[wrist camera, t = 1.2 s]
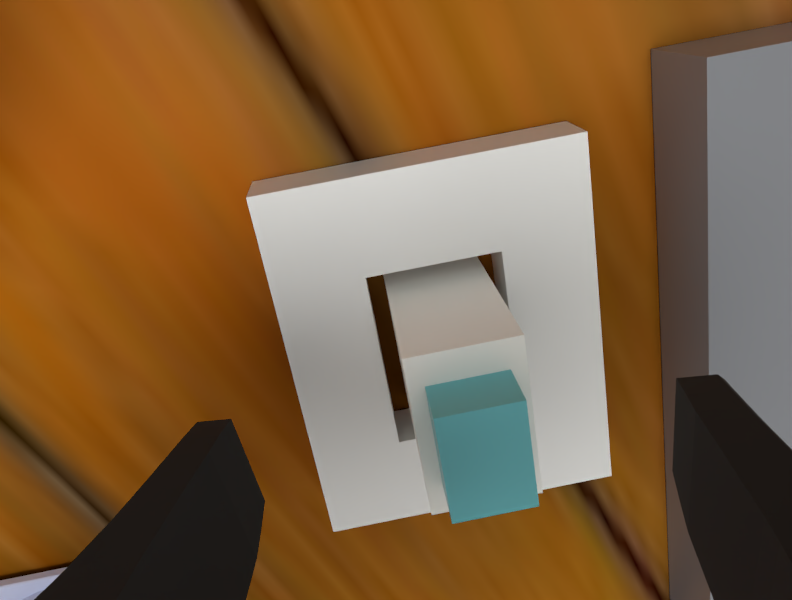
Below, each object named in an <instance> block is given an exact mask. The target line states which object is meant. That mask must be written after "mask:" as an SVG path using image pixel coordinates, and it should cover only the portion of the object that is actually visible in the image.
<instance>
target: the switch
mask: <svg viewBox="0 0 792 600" xmlns="http://www.w3.org/2000/svg"><path fill="white" fill-rule="evenodd" d="M651 70H652V99H653V128H654V156H655V185H656V214H657V242H658V271H659V300H660V328H661V357H662V386H663V414H664V443H665V472H666V500H667V529H668V558H669V586H670V600H714V599H713V597H712V594H711V591H710V589H709V586H708V584H707V581H706V579H705V576H704V573H703V571H702V568H701V565H700V563H699V560H698V557H697V555H696V552H695V550H694V547H693V544H692V542H691V539H690V536H689V534H688V530H687V527H686V523H685V519H684V515H683V511H682V508H681V504H680V500H679V496H678V492H677V488H676V484H675V480H674V476H673V472H672V466H673V442H674V418H675V394H676V378H683V377H693V376H704V375H715V374H718V375H720V376H721V377H722V378H724V379H725V380H726V381H727V382H728V384H729V385H730V386H731V387H732V388H733V389H734V390H735V391H736V392H737V393H738V394H739V395H740V397H741V398H742V399H743V400H744V401H745V402H746V403H747V404H748V405H749V406H750V407H751V408H752V409H753V410H754V411H755V413H756V414H757V415H758V416H759V417H760V418H761V419H762V420H763V421H764V422H765V423H766V424H767V425H768V426H769V427H770V428H771V429H772V430H773V431H774V432H775V433H776V434H777V435H778V436H779V437H780V438H781V439H782V440H783V441H784V442H785V443H786V444H787V445H788V446H789V447H790V448H791V449H792V22H790V23H784V24H779V25H774V26H769V27H764V28H758V29H753V30H748V31H743V32H738V33H732V34H727V35H722V36H717V37H712V38H706V39H701V40H696V41H691V42H685V43H680V44H675V45H670V46H665V47H659V48H654V49H651Z"/></svg>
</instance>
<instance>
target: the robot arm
mask: <svg viewBox="0 0 792 600" xmlns="http://www.w3.org/2000/svg"><path fill="white" fill-rule="evenodd" d="M672 472H673V476H674V480H675V484H676V488H677V492H678V496H679V500H680V504H681V508H682V511H683V515H684V519H685V523H686V527H687V530H688V534H689V536H690V539H691V542H692V544H693V547H694V550H695V552H696V555H697V557H698V560H699V563H700V565H701V568H702V571H703V573H704V576H705V579H706V581H707V584H708V586H709V589H710V591H711V594H712V597H713V599H714V600H792V449H791V448H790V447H789V446H788V445H787V444H786V443H785V442H784V441H783V440H782V439H781V438H780V437H779V436H778V435H777V434H776V433H775V432H774V431H773V430H772V429H771V428H770V427H769V426H768V425H767V424H766V423H765V422H764V421H763V420H762V419H761V418H760V417H759V416H758V415H757V414H756V413H755V411H754V410H753V409H752V408H751V407H750V406H749V405H748V404H747V403H746V402H745V401H744V400H743V399H742V398H741V397H740V395H739V394H738V393H737V392H736V391H735V390H734V389H733V388H732V387H731V386H730V385H729V384H728V382H727V381H726V380H725V379H724V378H722V377H721V376H720V375H718V374H715V375H704V376H693V377H683V378H676V394H675V418H674V442H673V466H672ZM264 503H265V500H264V498H263V495H262V493H261V490H260V488H259V485H258V483H257V481H256V478H255V476H254V473H253V471H252V469H251V466H250V464H249V461H248V459H247V456H246V454H245V452H244V449H243V447H242V444H241V442H240V440H239V437H238V435H237V432H236V430H235V427H234V425H233V423H232V420H231V419H226V420H215V421H204V422H197V423H196V424H195V425H194V426H193V427H192V428H191V429H190V431H189V432H188V433H187V434H186V435H185V436H184V437H183V439H182V440H181V441H180V442H179V443H178V444H177V446H176V447H175V448H174V449H173V450H172V451H171V453H170V454H169V455H168V456H167V457H166V458H165V460H164V461H163V462H162V463H161V464H160V465H159V467H158V468H157V469H156V470H155V471H154V473H153V474H152V475H151V476H150V477H149V478H148V480H147V481H146V482H145V483H144V484H143V485H142V486H141V488H140V489H139V490H138V491H137V492H136V493H135V494H134V496H133V497H132V498H131V499H130V500H129V501H128V502H127V504H126V505H125V506H124V507H123V508H122V509H121V510H120V512H119V513H118V514H117V515H116V516H115V517H114V518H113V519H112V521H111V522H110V523H109V524H108V525H107V526H106V527H105V528H104V529H103V530H102V531H101V532H100V533H99V534H98V535H97V536H96V537H95V539H94V540H93V541H92V542H91V543H90V544H89V545H88V546H87V547H86V548H85V549H84V550H83V551H82V552H81V553H80V554H79V555H78V556H77V557H76V559H75V560H74V561H73V562H72V563H71V564H70V565H69V566H68V567H65V568H60V569H55V570H50V571H45V572H40V573H35V574H30V575H25V576H20V577H15V578H10V579H5V580H0V600H246V597H247V593H248V589H249V586H250V582H251V578H252V574H253V571H254V567H255V563H256V559H257V553H258V547H259V540H260V534H261V527H262V519H263V511H264Z"/></svg>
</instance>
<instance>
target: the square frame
mask: <svg viewBox="0 0 792 600" xmlns="http://www.w3.org/2000/svg"><path fill="white" fill-rule="evenodd" d="M246 200H247V203H248V207H249V211H250V215H251V219H252V222H253V226H254V230H255V234H256V238H257V242H258V245H259V249H260V253H261V257H262V261H263V264H264V268H265V272H266V276H267V280H268V284H269V287H270V291H271V295H272V299H273V303H274V306H275V310H276V314H277V318H278V322H279V326H280V329H281V333H282V337H283V341H284V345H285V349H286V352H287V356H288V360H289V364H290V368H291V371H292V375H293V379H294V383H295V387H296V391H297V394H298V398H299V402H300V406H301V410H302V413H303V417H304V421H305V425H306V429H307V433H308V436H309V440H310V444H311V448H312V452H313V455H314V459H315V463H316V467H317V471H318V475H319V478H320V482H321V486H322V490H323V494H324V497H325V501H326V505H327V509H328V513H329V517H330V520H331V524H332V528H333V532H336V531H341V530H346V529H351V528H356V527H361V526H366V525H370V524H375V523H380V522H385V521H390V520H395V519H400V518H405V517H410V516H415V515H420V514H425V513H430V512H431V509H430V505H429V500H428V495H427V490H426V486H425V481H424V476H423V471H422V466H421V462H420V457H419V452H418V447H417V443H416V438H415V433H414V428H413V423H412V419H411V414H410V409H409V408H408V409H403V410H398V411H394V409H393V404H392V399H391V394H390V389H389V384H388V379H387V375H386V370H385V365H384V360H383V355H382V350H381V345H380V340H379V335H378V330H377V326H376V321H375V316H374V311H373V306H372V301H371V296H370V291H369V286H368V281H367V278H368V277H373V276H378V275H383V274H388V273H394V272H399V271H404V270H409V269H414V268H419V267H424V266H429V265H434V264H439V263H445V262H450V261H455V260H460V259H465V258H470V257H475V256H480V255H485V254H490V253H491V257H492V265H493V272H494V280H495V287H496V289H497V290H498V292H499V294H500V295H501V297H502V299H503V300H504V302H505V304H506V305H507V307H508V309H509V310H510V312H511V314H512V315H513V317H514V319H515V320H516V322H517V324H518V325H519V327H520V329H521V330H522V332H523V334H524V337H525V345H526V354H527V362H528V371H529V380H530V388H531V397H532V405H533V414H534V422H535V431H536V440H537V448H538V457H539V465H540V474H541V482H542V490H544V489H549V488H554V487H559V486H564V485H569V484H573V483H578V482H583V481H588V480H593V479H598V478H603V477H608V476H612V474H611V460H610V445H609V431H608V417H607V403H606V388H605V374H604V360H603V346H602V331H601V317H600V303H599V289H598V274H597V260H596V246H595V232H594V217H593V203H592V189H591V175H590V160H589V146H588V132H587V131H585V130H583V129H581V128H579V127H577V126H575V125H573V124H571V123H569V122H567V121H564V122H558V123H553V124H548V125H543V126H538V127H533V128H527V129H522V130H517V131H512V132H507V133H502V134H496V135H491V136H486V137H481V138H476V139H471V140H465V141H460V142H455V143H450V144H445V145H440V146H434V147H429V148H424V149H419V150H414V151H409V152H403V153H398V154H393V155H388V156H383V157H377V158H372V159H367V160H362V161H357V162H352V163H346V164H341V165H336V166H331V167H326V168H321V169H315V170H310V171H305V172H300V173H295V174H290V175H284V176H279V177H274V178H269V179H264V180H259V181H253V182H252V184H251V186H250V189H249V191H248V194H247V196H246Z"/></svg>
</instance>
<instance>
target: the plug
mask: <svg viewBox="0 0 792 600" xmlns="http://www.w3.org/2000/svg"><path fill="white" fill-rule="evenodd" d="M383 276H384V282H385V287H386V292H387V297H388V302H389V307H390V312H391V318H392V323H393V328H394V333H395V338H396V343H397V349H398V354H399V359H400V364H401V369H402V374H403V379H404V385H405V390H406V395H407V400H408V404H409V409H410V414H411V419H412V423H413V428H414V433H415V438H416V443H417V447H418V452H419V457H420V462H421V466H422V471H423V476H424V481H425V486H426V490H427V495H428V500H429V505H430V509H431V514H432V515H435V514H440V513H445V512H449V513H450V517H451V521H452V524H454V523H459V522H464V521H469V520H474V519H479V518H484V517H489V516H494V515H499V514H503V513H508V512H513V511H518V510H523V509H528V508H533V507H538V506H539V501H538V494H539V493H543V491H542V482H541V474H540V465H539V457H538V448H537V440H536V431H535V422H534V414H533V405H532V397H531V388H530V380H529V371H528V362H527V354H526V345H525V337H524V334H523V332H522V330H521V329H520V327H519V325H518V324H517V322H516V320H515V319H514V317H513V315H512V314H511V312H510V310H509V309H508V307H507V305H506V304H505V302H504V300H503V299H502V297H501V295H500V294H499V292H498V290H497V289H496V287H495V285H494V284H493V282H492V280H491V279H490V277H489V275H488V274H487V272H486V270H485V269H484V267H483V265H482V264H481V262H480V260H479V259H478V257H477V256H475V257H470V258H465V259H460V260H455V261H450V262H445V263H439V264H434V265H429V266H424V267H419V268H414V269H409V270H404V271H399V272H394V273H388V274H383Z"/></svg>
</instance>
